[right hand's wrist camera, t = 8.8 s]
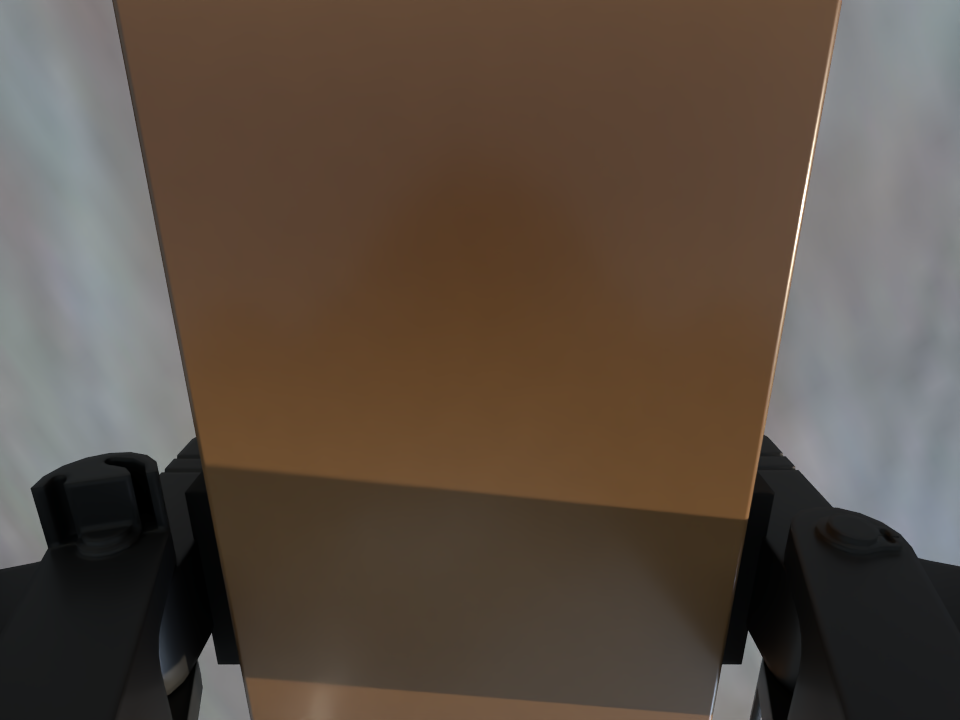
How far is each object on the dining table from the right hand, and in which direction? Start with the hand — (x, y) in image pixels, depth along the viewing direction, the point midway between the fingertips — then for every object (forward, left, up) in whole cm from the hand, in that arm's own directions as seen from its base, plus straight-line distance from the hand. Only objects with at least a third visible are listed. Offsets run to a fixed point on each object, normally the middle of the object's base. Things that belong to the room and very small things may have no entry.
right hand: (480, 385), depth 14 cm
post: (+11, +20, -1) cm, 23 cm away
